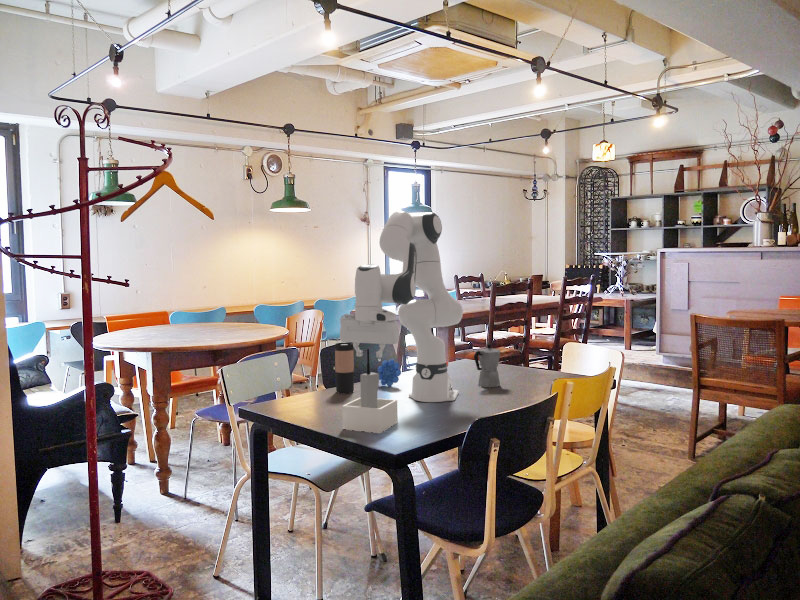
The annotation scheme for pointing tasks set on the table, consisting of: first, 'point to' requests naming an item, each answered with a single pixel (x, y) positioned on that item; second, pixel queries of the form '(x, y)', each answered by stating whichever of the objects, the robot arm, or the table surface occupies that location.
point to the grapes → (389, 372)
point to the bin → (369, 416)
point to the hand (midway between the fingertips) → (369, 356)
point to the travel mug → (344, 367)
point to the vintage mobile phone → (369, 387)
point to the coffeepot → (488, 366)
